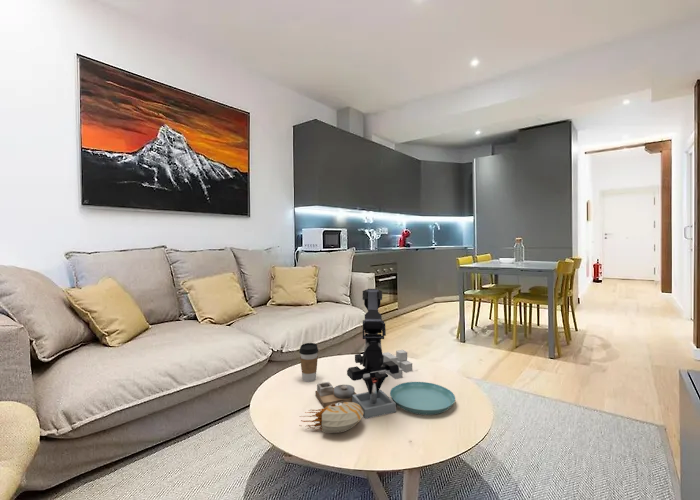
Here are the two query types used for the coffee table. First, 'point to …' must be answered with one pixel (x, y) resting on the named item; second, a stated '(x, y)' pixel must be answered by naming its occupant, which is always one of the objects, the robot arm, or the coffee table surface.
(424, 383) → the teal round plate
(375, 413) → the tray
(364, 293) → the robot arm
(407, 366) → the puzzle cube
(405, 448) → the coffee table surface
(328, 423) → the nautilus
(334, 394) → the pulley block
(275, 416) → the coffee table surface
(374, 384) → the lock pin
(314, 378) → the coffee cup
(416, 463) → the coffee table surface
